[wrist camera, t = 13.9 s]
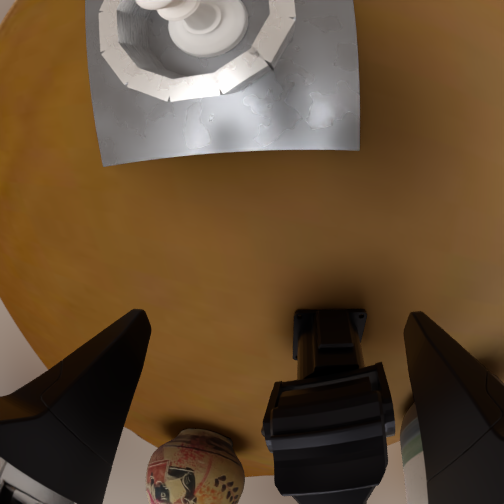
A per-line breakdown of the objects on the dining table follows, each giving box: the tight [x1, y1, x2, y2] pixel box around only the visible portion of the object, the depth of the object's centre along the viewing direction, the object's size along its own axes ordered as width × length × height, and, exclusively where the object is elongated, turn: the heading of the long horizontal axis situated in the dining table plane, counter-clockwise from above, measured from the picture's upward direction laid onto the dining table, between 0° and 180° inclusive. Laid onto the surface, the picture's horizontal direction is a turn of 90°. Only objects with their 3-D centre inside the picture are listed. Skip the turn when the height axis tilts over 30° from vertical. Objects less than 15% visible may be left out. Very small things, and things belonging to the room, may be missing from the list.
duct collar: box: [85, 0, 360, 167], centre depth 13 cm, size 18×18×5 cm
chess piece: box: [135, 0, 248, 58], centre depth 10 cm, size 5×5×10 cm
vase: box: [400, 373, 504, 504], centre depth 22 cm, size 17×17×24 cm
